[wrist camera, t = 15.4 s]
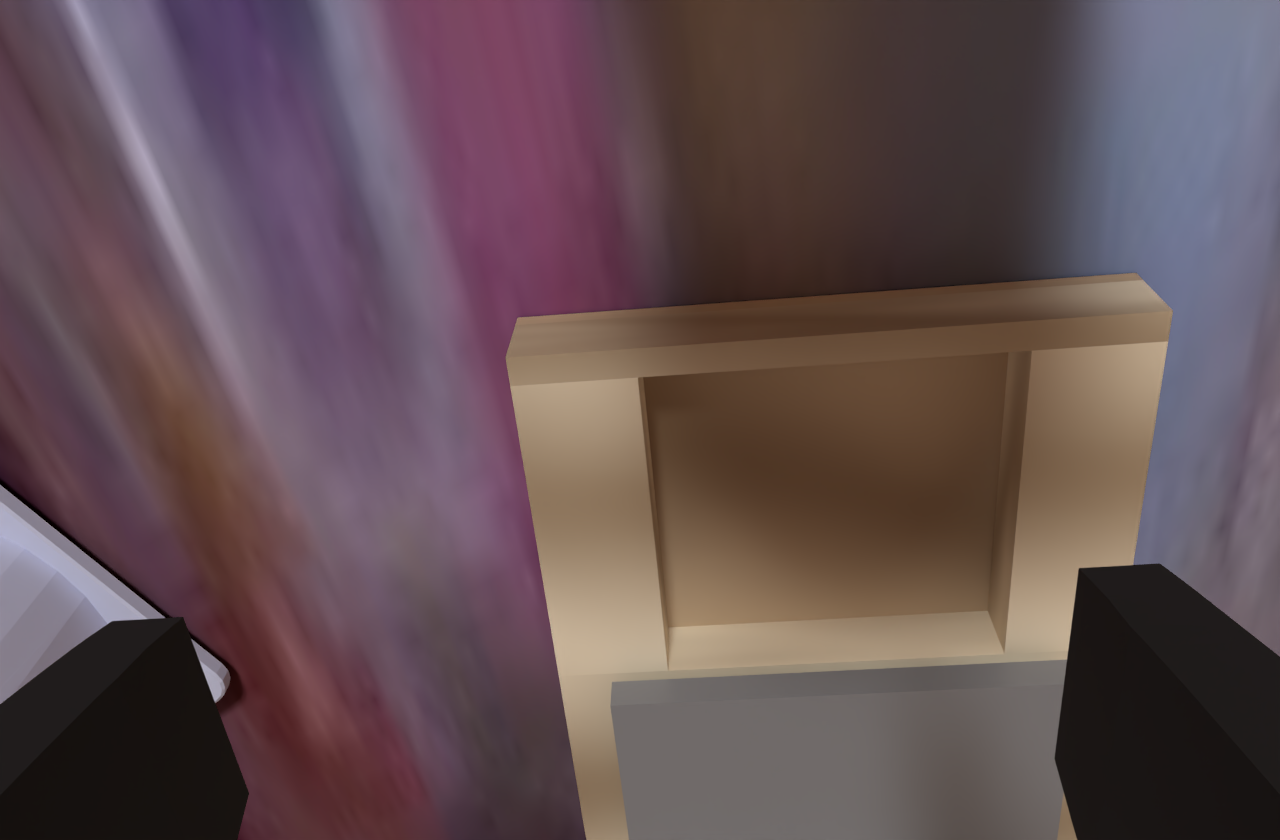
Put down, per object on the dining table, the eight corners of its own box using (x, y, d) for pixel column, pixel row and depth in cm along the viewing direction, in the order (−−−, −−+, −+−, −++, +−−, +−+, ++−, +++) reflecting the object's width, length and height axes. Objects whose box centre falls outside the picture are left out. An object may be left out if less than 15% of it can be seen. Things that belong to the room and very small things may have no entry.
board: (1026, 1072, 28) (1043, 1134, 27) (638, 1081, 29) (637, 1142, 28) (1136, 272, 18) (1172, 311, 16) (517, 317, 18) (505, 357, 17)
